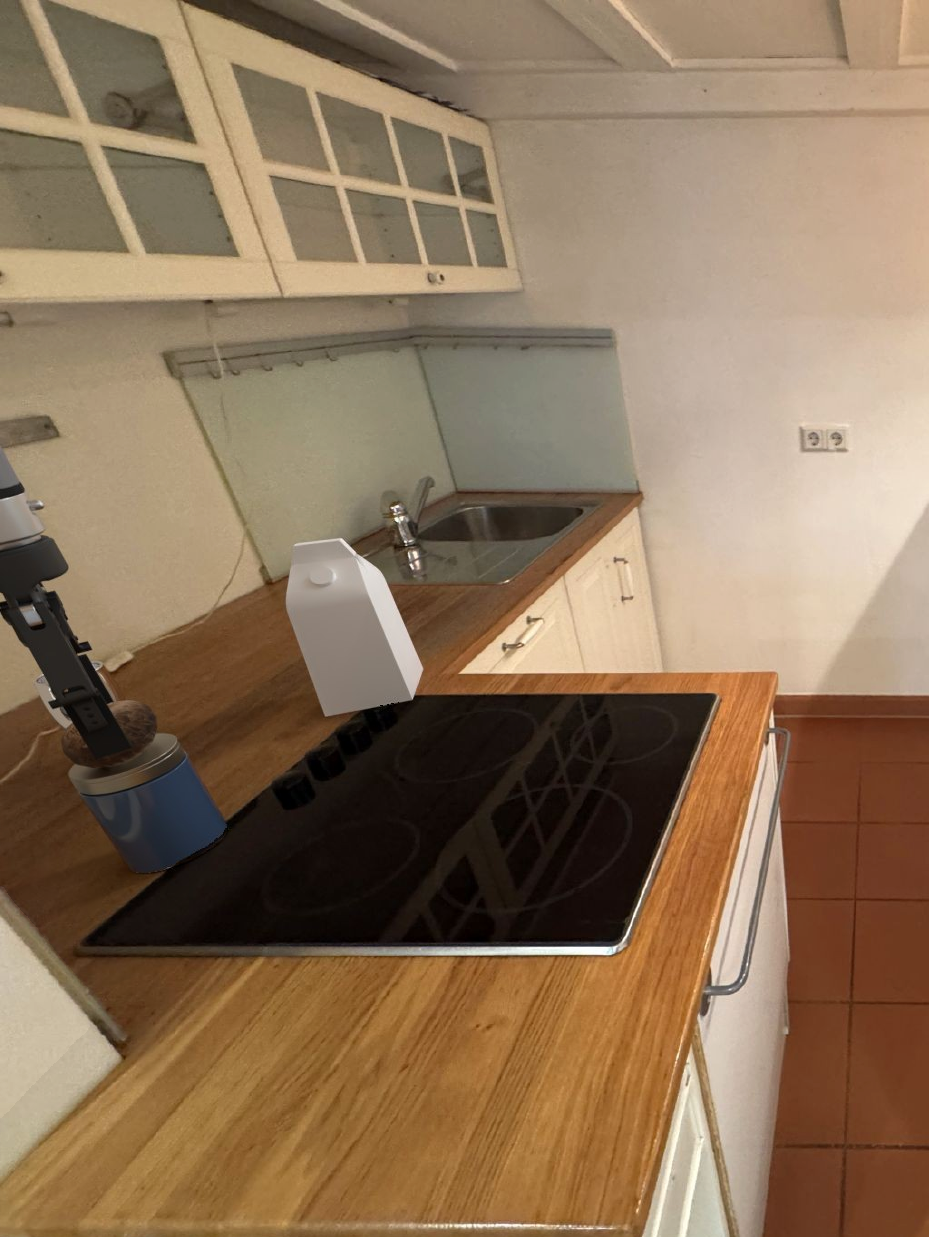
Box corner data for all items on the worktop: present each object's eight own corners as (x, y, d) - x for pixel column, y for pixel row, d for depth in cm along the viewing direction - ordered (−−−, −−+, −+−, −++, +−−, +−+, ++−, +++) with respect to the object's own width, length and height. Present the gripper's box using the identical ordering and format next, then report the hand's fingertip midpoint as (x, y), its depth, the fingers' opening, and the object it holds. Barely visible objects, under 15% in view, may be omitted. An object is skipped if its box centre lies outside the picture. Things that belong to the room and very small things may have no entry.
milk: (423, 669, 122) (372, 526, 111) (412, 699, 113) (355, 547, 101) (343, 683, 118) (281, 537, 107) (325, 716, 109) (255, 559, 97)
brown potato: (146, 700, 82) (99, 678, 76) (197, 732, 81) (154, 712, 75) (80, 757, 78) (26, 739, 72) (133, 791, 77) (82, 775, 71)
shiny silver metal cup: (161, 744, 103) (109, 655, 96) (154, 766, 98) (98, 673, 91) (96, 762, 99) (38, 670, 93) (85, 786, 94) (22, 690, 88)
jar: (134, 886, 77) (73, 796, 72) (123, 850, 83) (66, 764, 77) (236, 841, 83) (187, 755, 78) (220, 811, 89) (173, 728, 83)
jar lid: (80, 806, 72) (69, 791, 72) (73, 774, 78) (64, 759, 77) (191, 766, 78) (183, 751, 78) (178, 738, 84) (170, 724, 83)
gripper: (60, 558, 62) (171, 755, 71) (42, 513, 76) (136, 681, 85) (-73, 583, 56) (66, 792, 66) (-65, 529, 71) (48, 706, 80)
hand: (106, 730), depth 76 cm, fingers open, 13 cm apart
